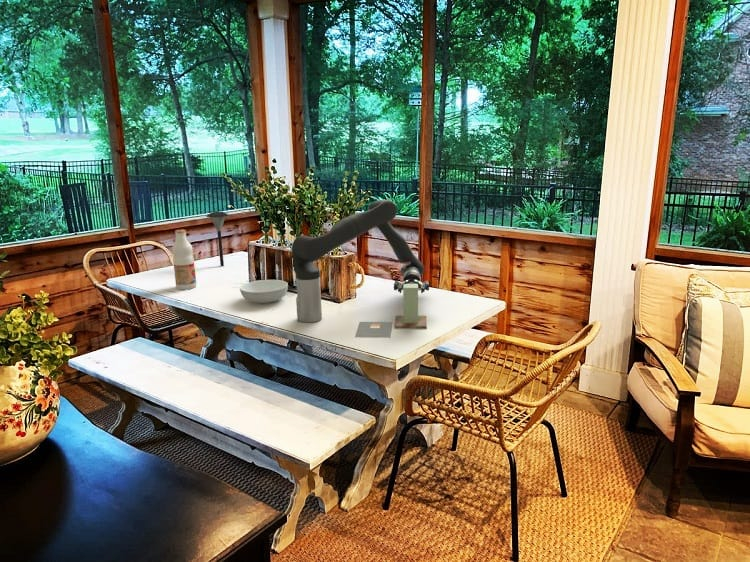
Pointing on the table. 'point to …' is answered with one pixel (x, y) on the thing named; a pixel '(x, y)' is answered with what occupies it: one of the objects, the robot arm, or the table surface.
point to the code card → (374, 330)
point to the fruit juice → (183, 262)
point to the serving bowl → (264, 290)
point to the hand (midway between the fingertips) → (411, 290)
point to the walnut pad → (419, 325)
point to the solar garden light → (218, 229)
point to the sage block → (410, 303)
